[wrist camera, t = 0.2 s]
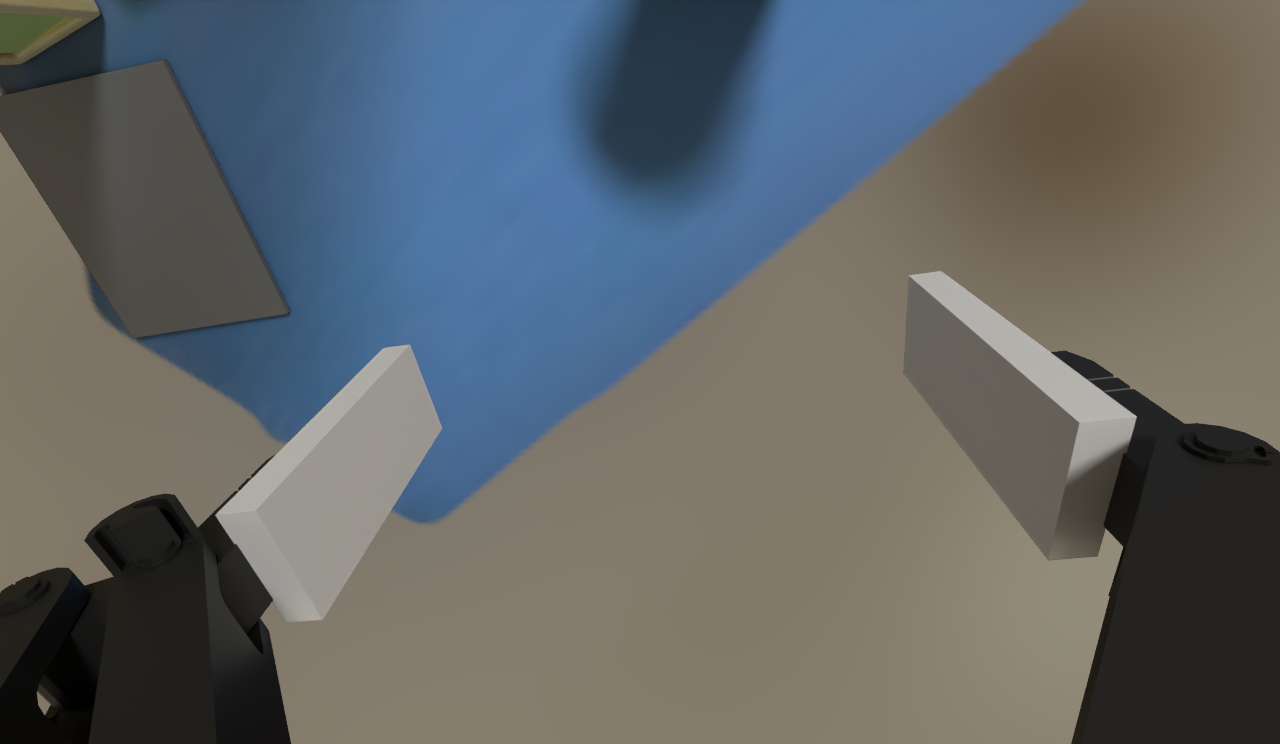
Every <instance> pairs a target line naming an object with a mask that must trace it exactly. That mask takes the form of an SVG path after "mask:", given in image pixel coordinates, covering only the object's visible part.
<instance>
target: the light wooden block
mask: <svg viewBox="0 0 1280 744" xmlns="http://www.w3.org/2000/svg"><path fill="white" fill-rule="evenodd" d="M98 16H100V10H99V8H98V6H97V5H96V3H95V1H94V0H0V65H19V64H23V63H24V62H26V61H28V60H30V59H31V58H33V57H34V56H36V55H38V54H39V53H41V52H43V51H44V50H45V49H47V48H49V47H50V46H52V45H54V44H55V43H57V42H59V41H60V40H62V39H63V38H65V37H66V36H68V35H70V34H71V33H73V32H74V31H76V30H78V29H79V28H81V27H82V26H84V25H85V24H87V23H89V22H91V21H92V20H94V19H95V18H97V17H98Z"/></svg>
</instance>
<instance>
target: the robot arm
mask: <svg viewBox="0 0 1280 744" xmlns="http://www.w3.org/2000/svg"><path fill="white" fill-rule="evenodd" d="M903 373H904V374H905V376H906V377H907V378H908V379H909V381H910V382H911V383H912V385H913V386H914V387H915V389H916V390H917V391H918V392H919V394H920V395H921V396H922V398H923V399H924V400H925V402H926V403H927V404H928V405H929V406H930V408H931V409H932V410H933V412H934V413H935V414H936V416H937V417H938V418H939V420H940V421H941V422H942V423H943V425H944V426H945V427H946V429H947V430H948V431H949V433H950V434H951V435H952V437H953V438H954V439H955V440H956V442H957V443H958V444H959V446H960V447H961V448H962V449H963V451H964V452H965V453H966V455H967V456H968V457H969V459H970V460H971V461H972V462H973V464H974V465H975V466H976V468H977V469H978V470H979V471H980V473H981V474H982V475H983V477H984V478H985V479H986V481H987V482H988V483H989V484H990V486H991V487H992V488H993V490H994V491H995V492H996V493H997V495H998V496H999V497H1000V499H1001V500H1002V501H1003V502H1004V504H1005V505H1006V506H1007V508H1008V509H1009V510H1010V512H1011V513H1012V514H1013V515H1014V517H1015V518H1016V519H1017V521H1018V522H1019V523H1020V525H1021V526H1022V527H1023V528H1024V530H1025V531H1026V532H1027V534H1028V535H1029V536H1030V537H1031V539H1032V540H1033V541H1034V543H1035V544H1036V545H1037V546H1038V548H1039V549H1040V550H1041V552H1042V553H1043V554H1044V555H1045V557H1046V558H1047V559H1048V560H1059V559H1072V558H1084V557H1096V556H1098V553H1099V550H1100V546H1101V542H1102V539H1103V536H1104V532H1105V528H1106V529H1107V530H1108V531H1109V532H1110V533H1111V534H1112V535H1113V536H1114V537H1115V538H1116V539H1117V540H1118V541H1119V543H1120V544H1121V545H1122V546H1123V550H1122V553H1121V557H1120V560H1119V563H1118V567H1117V570H1116V573H1115V576H1114V579H1113V583H1112V586H1111V589H1110V592H1109V596H1110V598H1109V601H1108V605H1107V609H1106V613H1105V617H1104V621H1103V624H1102V628H1101V632H1100V636H1099V640H1098V644H1097V647H1096V651H1095V655H1094V659H1093V663H1092V667H1091V670H1090V674H1089V678H1088V682H1087V686H1086V690H1085V693H1084V697H1083V701H1082V705H1081V709H1080V712H1079V717H1078V720H1077V724H1076V728H1075V732H1074V736H1073V739H1072V743H1071V744H1280V452H1279V451H1278V450H1276V449H1275V448H1273V447H1272V446H1271V445H1269V444H1268V443H1267V442H1265V441H1263V440H1260V439H1258V438H1256V437H1253V436H1251V435H1249V434H1247V433H1244V432H1241V431H1237V430H1233V429H1229V428H1226V427H1222V426H1215V425H1206V424H1198V423H1195V424H1184V423H1182V422H1181V421H1180V420H1178V419H1177V418H1175V417H1174V416H1172V415H1171V414H1169V413H1168V412H1167V411H1165V410H1163V409H1162V408H1161V407H1159V406H1158V405H1156V404H1155V403H1154V402H1152V401H1150V400H1149V399H1148V398H1146V397H1145V396H1143V395H1142V394H1140V393H1139V392H1138V391H1136V390H1135V389H1132V390H1131V389H1130V386H1129V385H1127V384H1126V383H1124V382H1123V381H1122V380H1120V379H1119V378H1114V377H1113V374H1111V373H1110V372H1109V371H1107V370H1106V369H1104V368H1103V367H1101V366H1100V365H1098V364H1097V363H1095V362H1094V361H1092V360H1089V359H1086V358H1084V357H1081V356H1078V355H1075V354H1073V353H1070V352H1067V351H1058V352H1049V351H1048V350H1046V349H1045V348H1044V347H1042V346H1041V345H1040V344H1038V343H1037V342H1036V341H1034V340H1033V339H1032V338H1030V337H1029V336H1028V335H1026V334H1025V333H1024V332H1022V331H1021V330H1020V329H1018V328H1017V327H1016V326H1014V325H1013V324H1012V323H1010V322H1009V321H1007V320H1006V319H1005V318H1003V317H1002V316H1001V315H999V314H998V313H997V312H995V311H994V310H993V309H991V308H990V307H989V306H987V305H986V304H985V303H983V302H982V301H981V300H979V299H978V298H977V297H975V296H974V295H972V294H971V293H970V292H969V291H967V290H966V289H964V288H963V287H962V286H960V285H959V284H958V283H956V282H955V281H954V280H952V279H951V278H950V277H948V276H947V275H946V274H944V273H943V272H941V271H938V272H931V273H924V274H917V275H910V276H909V281H908V299H907V317H906V334H905V352H904V371H903ZM441 429H442V426H441V424H440V421H439V419H438V416H437V414H436V411H435V408H434V406H433V403H432V401H431V398H430V395H429V393H428V390H427V388H426V385H425V383H424V380H423V377H422V375H421V372H420V370H419V367H418V365H417V362H416V359H415V357H414V354H413V352H412V349H411V347H410V345H403V346H396V347H389V348H383V349H382V350H381V351H380V352H379V353H378V354H377V355H376V356H375V357H374V358H373V359H372V360H371V361H370V362H369V363H368V364H367V365H366V366H365V367H364V368H363V369H362V370H361V371H360V372H359V373H358V374H357V375H356V376H355V377H354V378H353V379H352V380H351V381H350V382H349V383H348V384H347V385H346V386H345V387H344V388H343V389H342V390H341V391H340V392H339V393H338V394H337V395H336V396H335V397H334V398H333V399H332V400H331V401H330V402H329V403H328V404H327V405H326V406H325V407H324V408H323V409H322V410H321V411H320V412H319V413H318V414H317V415H316V416H315V417H314V418H313V419H312V420H311V421H309V422H308V423H307V424H306V425H305V426H304V427H303V428H302V429H301V430H300V431H299V432H298V433H297V434H296V435H295V436H294V437H293V438H292V439H291V440H290V441H289V442H288V443H287V444H286V445H285V446H284V447H283V448H282V449H281V450H280V451H279V452H278V453H277V454H275V455H274V456H272V457H271V458H269V459H268V460H267V461H265V462H264V463H263V464H262V465H261V466H260V467H259V468H258V469H257V470H256V471H255V472H254V473H253V474H252V475H251V476H252V477H251V478H249V479H247V480H246V481H245V482H244V483H243V484H242V485H241V486H240V487H239V488H238V489H239V491H235V492H234V493H233V494H232V495H231V496H230V497H229V498H228V499H227V500H226V501H225V502H224V503H223V504H222V505H221V506H220V507H219V508H218V509H216V510H215V511H214V513H212V515H210V516H209V518H207V519H206V520H205V522H203V523H202V524H201V525H200V526H199V527H198V528H197V526H196V525H195V523H194V522H193V520H192V519H191V518H190V516H189V515H188V513H187V512H186V510H185V509H184V508H183V506H182V505H181V503H180V502H179V501H178V499H177V497H176V496H175V495H172V494H161V495H156V496H151V497H148V498H145V499H142V500H139V501H136V502H134V503H132V504H130V505H128V506H126V507H124V508H122V509H120V510H118V511H116V512H115V513H113V514H112V515H110V516H108V517H107V518H105V519H104V520H102V521H101V522H100V523H99V524H98V525H97V526H95V527H94V528H93V529H92V530H91V531H90V532H89V534H88V535H87V537H86V539H85V542H86V543H87V544H88V545H89V547H90V548H91V549H92V550H93V552H94V553H95V554H96V555H97V556H98V557H99V558H100V560H101V561H102V562H103V564H104V565H105V566H106V567H107V568H108V570H109V571H110V572H111V573H112V575H113V576H114V577H111V578H108V579H105V580H101V581H99V582H95V583H92V584H89V585H85V586H84V585H83V584H82V582H81V581H80V580H79V579H78V578H77V577H76V575H75V574H74V573H73V572H72V571H71V570H70V569H69V568H55V569H51V570H47V571H43V572H41V573H38V574H36V575H34V576H31V577H26V578H23V579H21V580H20V581H18V582H16V584H15V585H13V584H12V585H10V586H8V587H7V588H5V589H4V590H2V591H1V593H0V744H291V742H290V736H289V731H288V726H287V721H286V716H285V711H284V705H283V701H282V695H281V690H280V686H279V680H278V676H277V670H276V665H275V659H274V655H273V649H272V644H271V639H270V634H269V630H268V629H267V627H266V626H265V625H264V623H263V622H262V621H261V619H260V617H261V616H262V614H263V613H264V612H265V610H266V609H267V608H268V606H269V605H270V603H271V602H273V603H274V605H275V606H276V608H277V609H278V610H279V612H280V614H281V615H282V617H283V618H284V620H285V621H286V622H287V623H288V622H300V621H313V620H322V619H323V618H324V617H325V615H326V614H327V612H328V610H329V609H330V607H331V606H332V604H333V602H334V601H335V599H336V598H337V596H338V594H339V593H340V591H341V590H342V588H343V586H344V585H345V583H346V581H347V580H348V578H349V577H350V575H351V574H352V572H353V570H354V569H355V567H356V566H357V564H358V562H359V561H360V559H361V558H362V556H363V554H364V553H365V551H366V550H367V548H368V546H369V545H370V543H371V541H372V540H373V538H374V537H375V535H376V533H377V532H378V530H379V529H380V527H381V525H382V524H383V522H384V521H385V519H386V517H387V516H388V514H389V513H390V511H391V509H392V508H393V506H394V505H395V503H396V501H397V500H398V498H399V497H400V495H401V493H402V492H403V490H404V489H405V487H406V485H407V484H408V482H409V481H410V479H411V477H412V476H413V474H414V473H415V471H416V469H417V468H418V466H419V465H420V463H421V461H422V460H423V458H424V457H425V455H426V453H427V452H428V450H429V449H430V447H431V445H432V444H433V442H434V440H435V439H436V437H437V436H438V434H439V432H440V431H441ZM37 692H38V693H39V694H41V695H42V696H43V697H44V698H45V699H46V700H47V701H48V702H49V703H50V704H51V706H50V707H49V709H48V711H47V713H46V715H44V714H43V712H42V710H41V709H40V707H39V706H38V700H37Z"/></svg>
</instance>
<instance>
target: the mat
mask: <svg viewBox="0 0 1280 744" xmlns="http://www.w3.org/2000/svg"><path fill="white" fill-rule="evenodd" d="M0 132H1V133H2V135H3V137H4V138H5V140H6V141H7V143H8V144H9V146H10V147H11V149H12V151H13V152H14V154H15V155H16V157H17V158H18V160H19V162H20V163H21V165H22V166H23V168H24V169H25V171H26V172H27V174H28V176H29V177H30V179H31V180H32V182H33V183H34V185H35V187H36V188H37V190H38V191H39V193H40V194H41V196H42V197H43V199H44V201H45V202H46V204H47V205H48V207H49V208H50V210H51V211H52V213H53V215H54V216H55V218H56V219H57V221H58V222H59V224H60V226H61V227H62V229H63V230H64V232H65V233H66V235H67V236H68V238H69V239H70V241H71V243H72V244H73V245H74V247H75V249H76V250H77V252H78V254H79V255H80V257H81V258H82V260H83V261H84V263H85V265H86V266H87V268H88V269H89V271H90V272H91V274H92V275H93V277H94V279H95V280H96V282H97V283H98V285H99V286H100V288H101V290H102V291H103V293H104V294H105V296H106V297H107V299H108V300H109V302H110V304H111V305H112V307H113V308H114V310H115V311H116V313H117V314H118V316H119V318H120V319H121V321H122V322H123V324H124V325H125V327H126V329H127V330H128V332H129V333H130V335H131V336H132V338H138V337H144V336H151V335H157V334H163V333H170V332H176V331H182V330H188V329H195V328H201V327H207V326H213V325H220V324H226V323H232V322H238V321H245V320H251V319H257V318H264V317H270V316H276V315H282V314H288V313H289V312H290V310H289V308H288V306H287V304H286V302H285V300H284V298H283V296H282V294H281V292H280V290H279V288H278V285H277V283H276V281H275V279H274V277H273V275H272V273H271V271H270V269H269V267H268V265H267V263H266V261H265V259H264V257H263V255H262V253H261V251H260V249H259V247H258V245H257V243H256V241H255V239H254V236H253V234H252V232H251V230H250V228H249V226H248V224H247V222H246V220H245V218H244V216H243V214H242V212H241V210H240V208H239V206H238V204H237V202H236V200H235V198H234V196H233V194H232V192H231V190H230V187H229V185H228V183H227V181H226V179H225V177H224V175H223V173H222V171H221V169H220V167H219V165H218V163H217V161H216V159H215V157H214V155H213V153H212V151H211V149H210V147H209V145H208V143H207V141H206V138H205V136H204V134H203V132H202V130H201V128H200V126H199V124H198V122H197V120H196V118H195V116H194V114H193V112H192V110H191V108H190V106H189V104H188V102H187V100H186V98H185V96H184V94H183V92H182V89H181V87H180V85H179V83H178V81H177V79H176V77H175V75H174V73H173V71H172V69H171V67H170V65H169V63H168V61H167V60H160V61H155V62H151V63H146V64H142V65H137V66H133V67H128V68H124V69H119V70H115V71H111V72H106V73H102V74H97V75H93V76H88V77H84V78H79V79H75V80H70V81H66V82H61V83H57V84H52V85H48V86H43V87H39V88H34V89H30V90H25V91H21V92H17V93H12V94H8V95H3V96H0Z"/></svg>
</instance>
